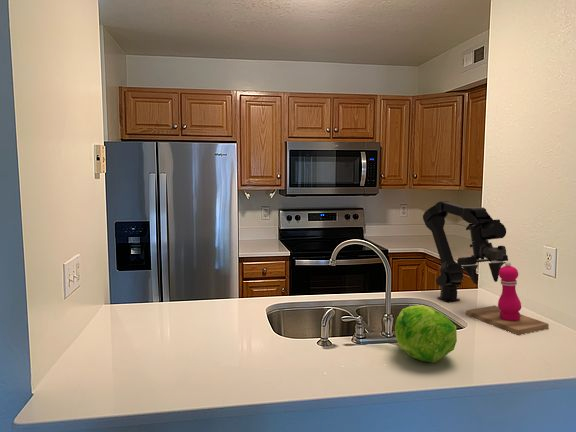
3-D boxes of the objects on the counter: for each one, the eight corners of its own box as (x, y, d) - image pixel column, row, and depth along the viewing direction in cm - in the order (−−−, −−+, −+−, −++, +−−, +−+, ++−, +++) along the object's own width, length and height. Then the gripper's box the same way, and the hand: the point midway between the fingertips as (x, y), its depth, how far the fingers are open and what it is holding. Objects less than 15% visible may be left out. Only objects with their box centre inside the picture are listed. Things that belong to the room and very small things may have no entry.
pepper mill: (495, 319, 147) (493, 263, 144) (502, 312, 152) (500, 258, 150) (518, 323, 142) (516, 265, 139) (524, 316, 147) (522, 260, 144)
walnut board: (466, 317, 156) (466, 310, 156) (494, 311, 161) (494, 305, 161) (517, 337, 136) (517, 330, 136) (548, 331, 141) (548, 323, 141)
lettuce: (437, 350, 131) (442, 302, 131) (463, 374, 111) (468, 317, 111) (384, 344, 131) (388, 296, 132) (399, 367, 111) (405, 310, 111)
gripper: (475, 240, 147) (481, 285, 145) (516, 237, 152) (523, 280, 151) (453, 243, 157) (459, 285, 155) (493, 239, 163) (499, 280, 161)
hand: (486, 282), depth 155 cm, fingers open, 9 cm apart
